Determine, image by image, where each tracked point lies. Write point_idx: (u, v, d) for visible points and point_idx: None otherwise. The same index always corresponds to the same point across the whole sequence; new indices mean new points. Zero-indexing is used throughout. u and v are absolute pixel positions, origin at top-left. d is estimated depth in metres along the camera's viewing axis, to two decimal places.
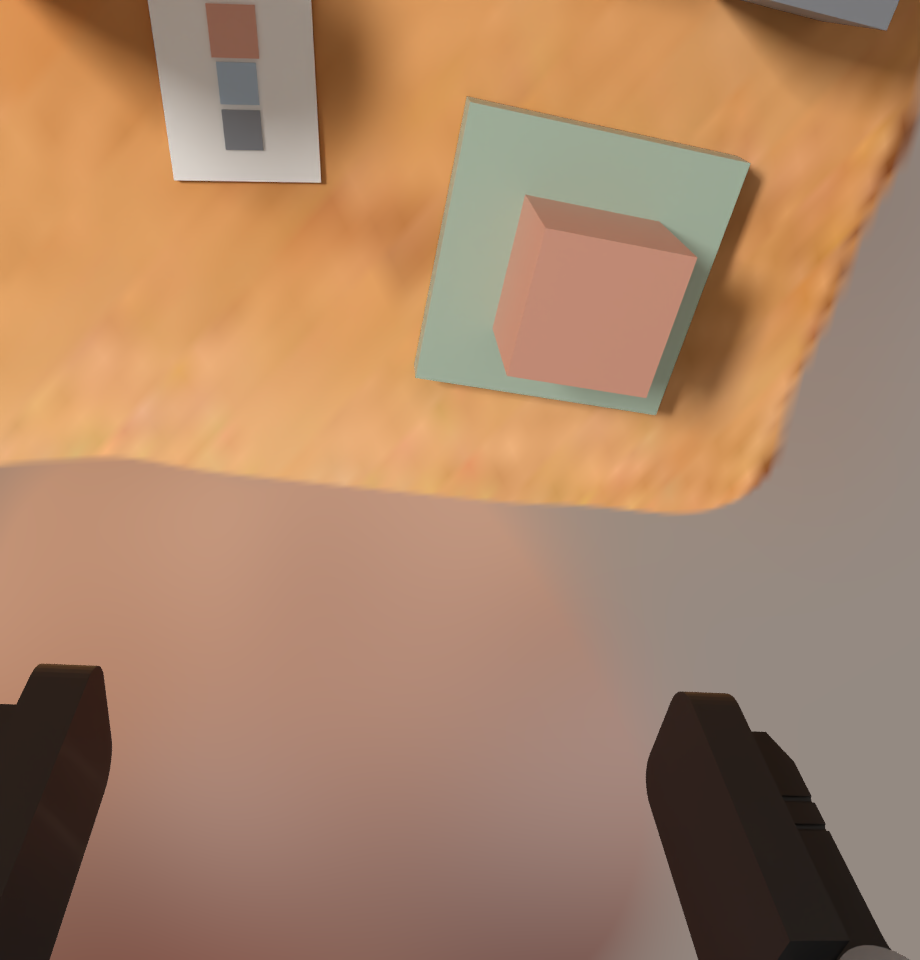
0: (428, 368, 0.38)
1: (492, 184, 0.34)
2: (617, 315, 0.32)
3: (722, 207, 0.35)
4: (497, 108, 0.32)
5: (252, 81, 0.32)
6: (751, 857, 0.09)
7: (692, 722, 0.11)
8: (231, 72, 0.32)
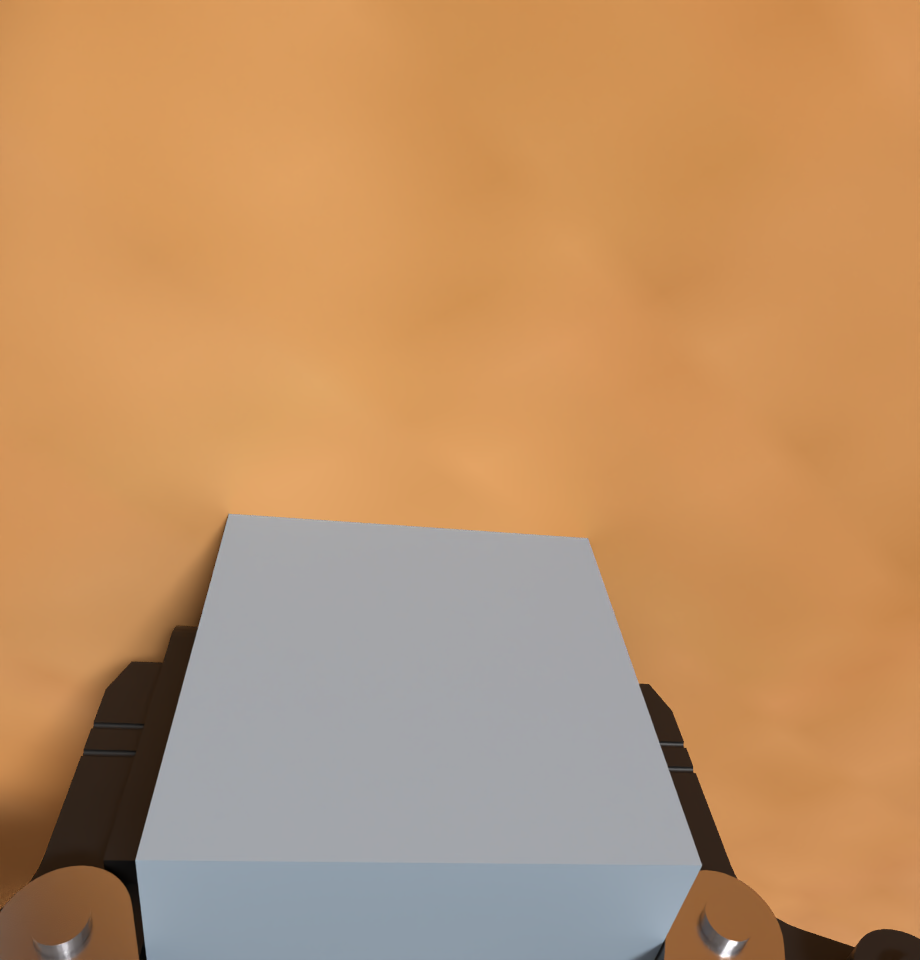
0: None
1: None
2: None
3: None
4: None
5: None
6: None
7: None
8: None
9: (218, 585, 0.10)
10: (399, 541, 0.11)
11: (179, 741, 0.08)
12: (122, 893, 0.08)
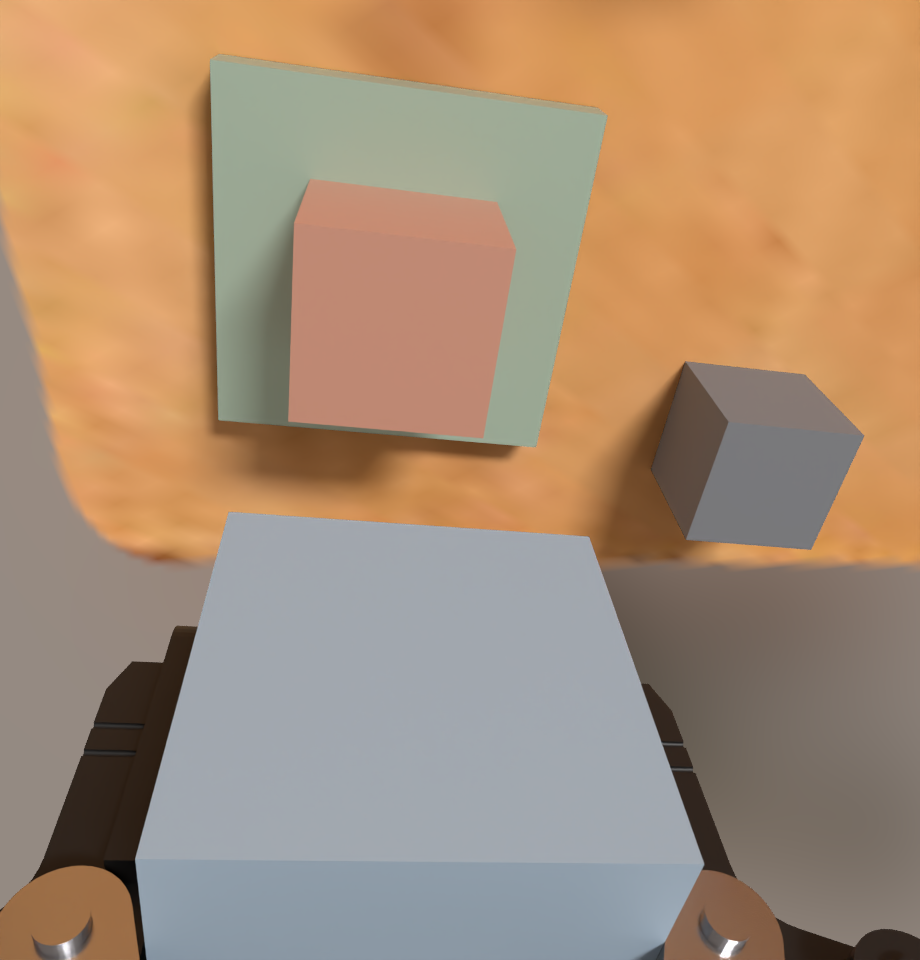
0: (230, 81, 0.24)
1: (508, 156, 0.26)
2: (403, 361, 0.24)
3: (489, 431, 0.31)
4: (598, 152, 0.26)
5: None
6: None
7: None
8: None
9: (218, 583, 0.10)
10: (401, 539, 0.11)
11: (179, 740, 0.08)
12: (122, 893, 0.08)
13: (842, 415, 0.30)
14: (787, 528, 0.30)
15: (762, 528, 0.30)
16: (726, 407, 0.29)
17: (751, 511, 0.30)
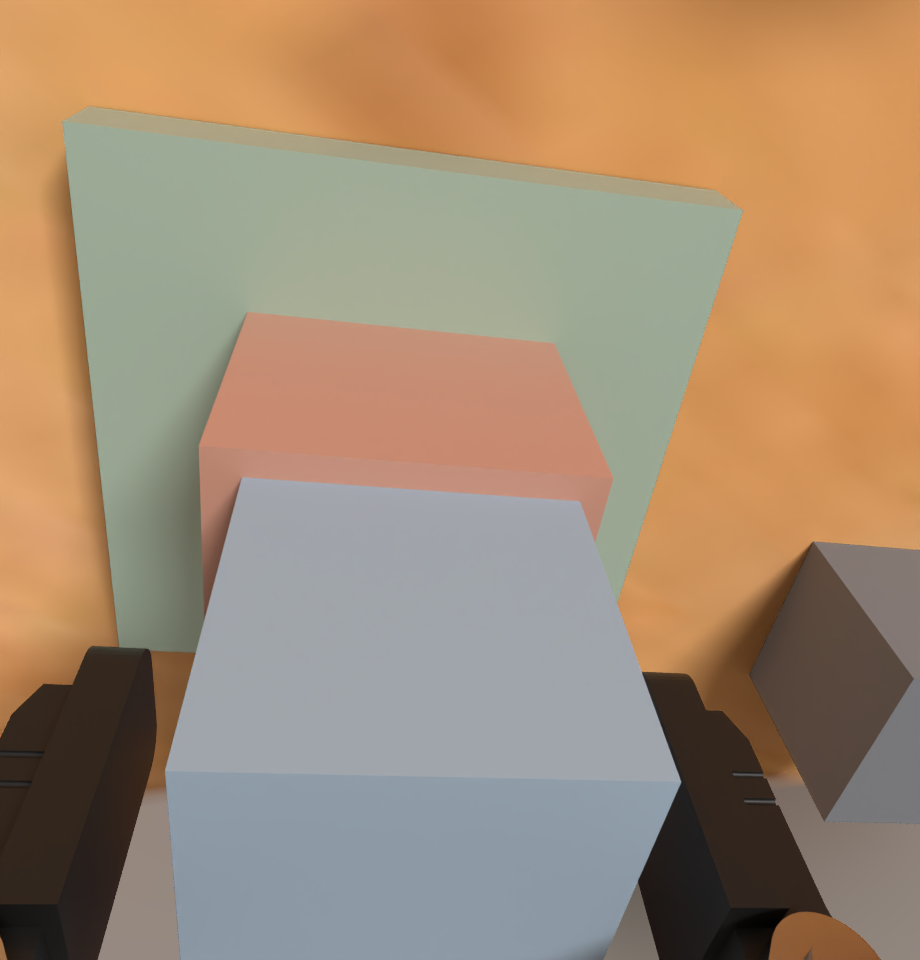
0: (100, 157, 0.14)
1: (576, 274, 0.16)
2: None
3: None
4: (723, 267, 0.16)
5: None
6: (698, 829, 0.10)
7: None
8: None
9: (233, 539, 0.10)
10: (403, 502, 0.12)
11: (201, 673, 0.09)
12: None
13: None
14: None
15: None
16: (898, 642, 0.19)
17: None
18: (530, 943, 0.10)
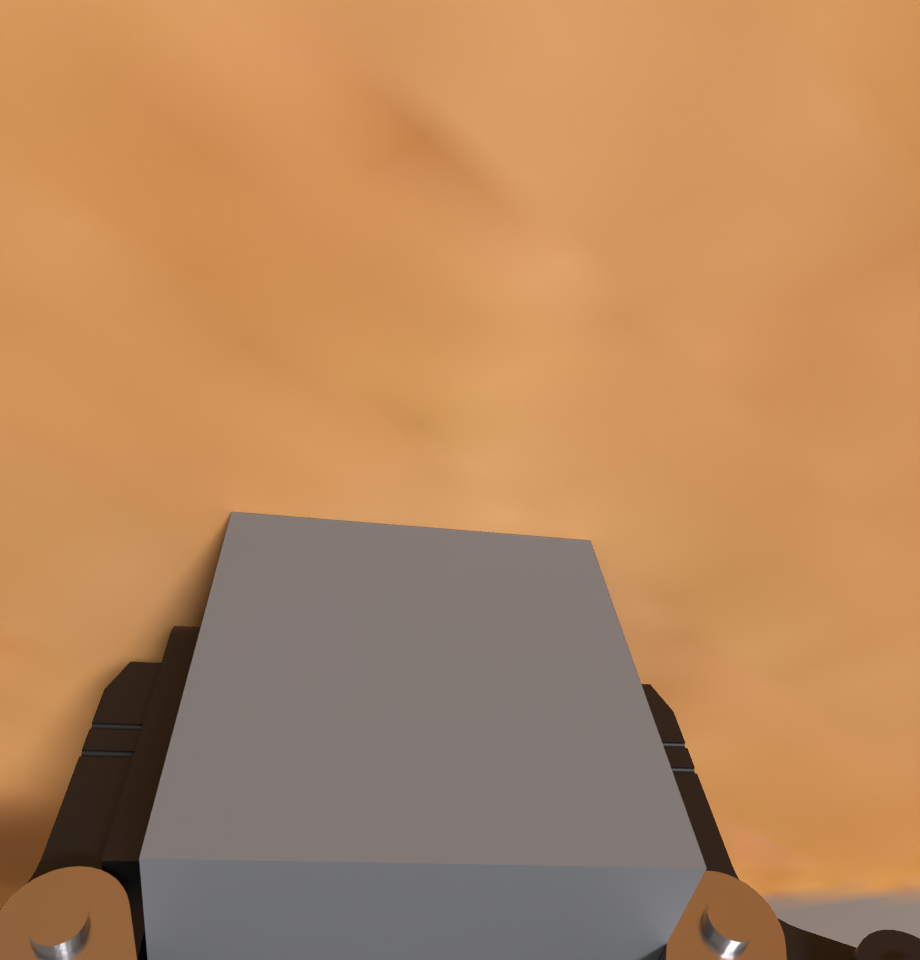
0: None
1: None
2: None
3: None
4: None
5: None
6: None
7: None
8: None
9: None
10: None
11: None
12: (120, 894, 0.08)
13: (652, 740, 0.09)
14: None
15: None
16: (202, 749, 0.08)
17: None
18: None
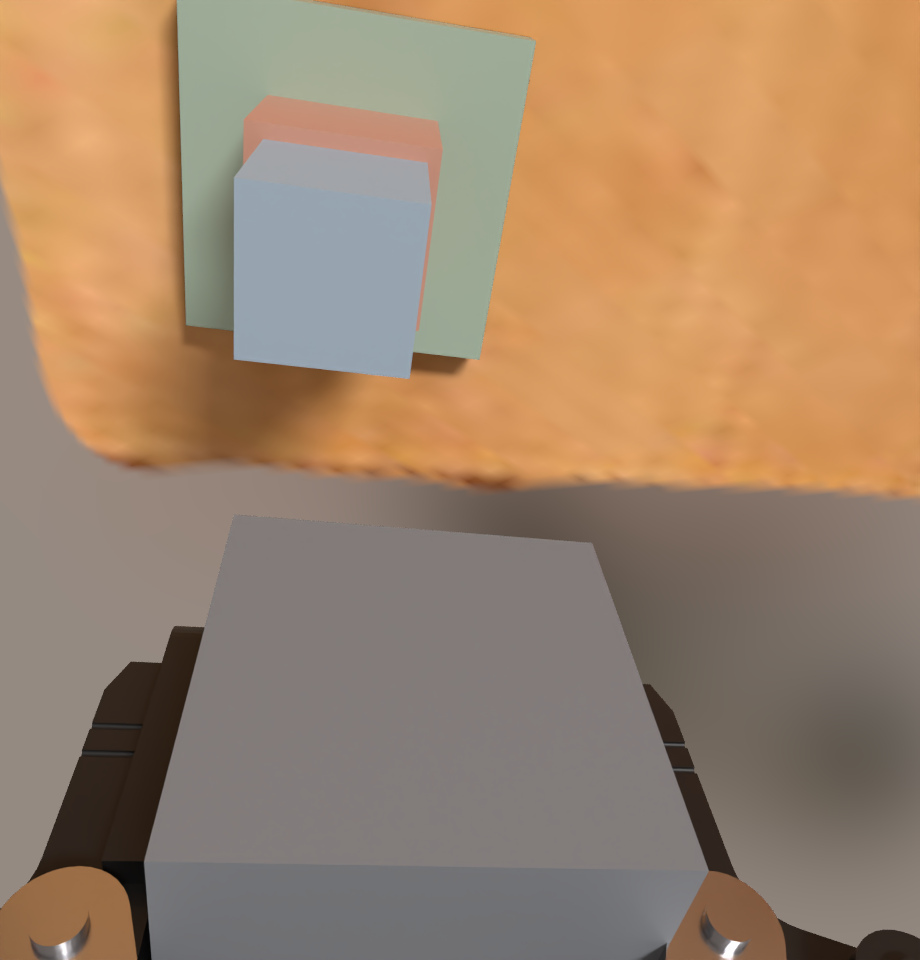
0: (194, 1, 0.27)
1: (447, 77, 0.29)
2: None
3: (435, 343, 0.34)
4: (529, 76, 0.29)
5: None
6: None
7: None
8: None
9: (259, 149, 0.24)
10: (339, 152, 0.25)
11: (246, 167, 0.22)
12: (120, 894, 0.08)
13: (654, 742, 0.09)
14: None
15: None
16: (206, 751, 0.08)
17: None
18: (382, 309, 0.23)
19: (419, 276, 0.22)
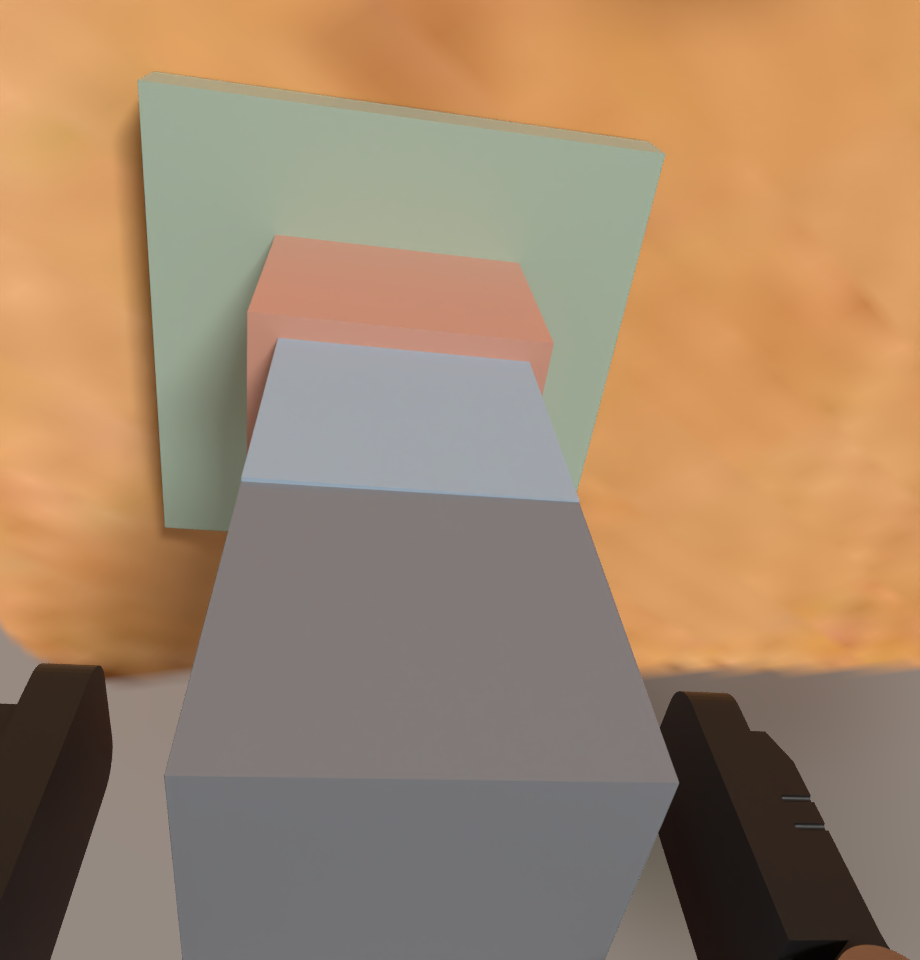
0: (165, 109, 0.18)
1: (535, 205, 0.20)
2: None
3: None
4: (651, 200, 0.20)
5: None
6: (751, 856, 0.09)
7: (692, 721, 0.11)
8: None
9: (275, 370, 0.15)
10: (397, 356, 0.16)
11: (259, 435, 0.13)
12: None
13: (632, 675, 0.09)
14: None
15: None
16: (218, 685, 0.09)
17: None
18: None
19: None
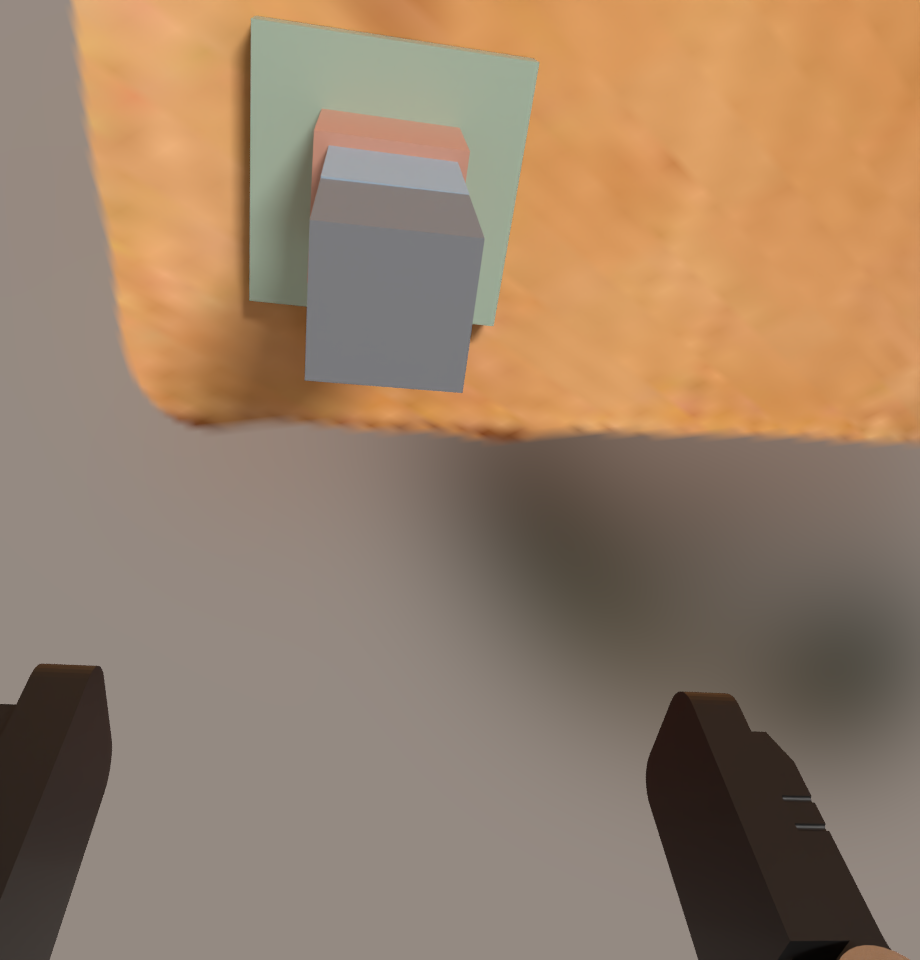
0: (265, 34, 0.34)
1: (467, 92, 0.35)
2: None
3: None
4: (533, 90, 0.36)
5: None
6: (751, 857, 0.09)
7: (692, 722, 0.11)
8: None
9: (329, 153, 0.30)
10: (388, 155, 0.31)
11: (326, 168, 0.28)
12: None
13: (476, 223, 0.25)
14: (425, 364, 0.26)
15: (393, 364, 0.26)
16: (323, 210, 0.24)
17: (374, 342, 0.25)
18: None
19: None
